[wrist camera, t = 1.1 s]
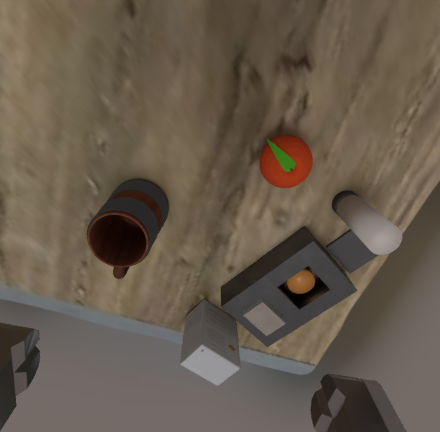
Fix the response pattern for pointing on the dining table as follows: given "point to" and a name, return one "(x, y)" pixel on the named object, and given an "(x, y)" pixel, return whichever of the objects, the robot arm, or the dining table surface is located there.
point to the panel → (275, 298)
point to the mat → (350, 251)
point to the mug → (127, 225)
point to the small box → (210, 343)
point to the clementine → (285, 161)
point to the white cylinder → (367, 223)
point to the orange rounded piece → (301, 281)
